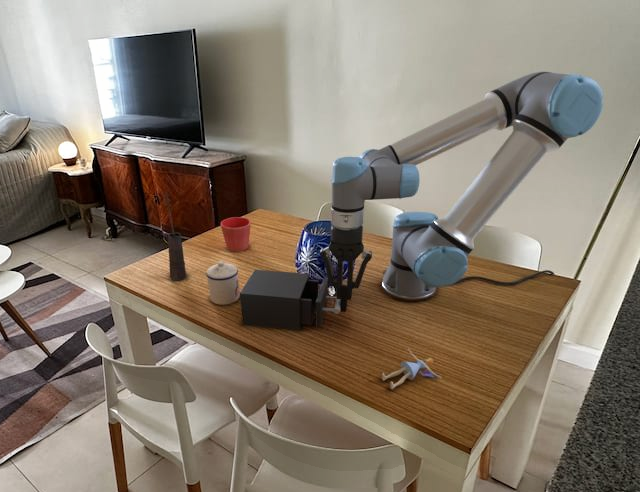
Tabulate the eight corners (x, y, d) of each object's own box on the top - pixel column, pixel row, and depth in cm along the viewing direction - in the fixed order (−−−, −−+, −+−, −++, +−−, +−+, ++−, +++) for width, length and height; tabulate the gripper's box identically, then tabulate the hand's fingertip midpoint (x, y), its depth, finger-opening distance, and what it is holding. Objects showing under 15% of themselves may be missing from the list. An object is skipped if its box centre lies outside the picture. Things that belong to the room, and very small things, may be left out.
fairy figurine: (371, 357, 100) (415, 338, 104) (372, 373, 103) (415, 354, 106) (403, 389, 91) (451, 367, 94) (403, 406, 93) (450, 384, 97)
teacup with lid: (243, 302, 130) (240, 266, 125) (212, 308, 128) (207, 271, 123) (234, 283, 140) (231, 249, 135) (205, 288, 138) (200, 254, 133)
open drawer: (343, 305, 125) (344, 280, 121) (337, 330, 115) (338, 304, 111) (277, 299, 129) (276, 275, 126) (266, 322, 119) (264, 297, 115)
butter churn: (194, 283, 142) (181, 197, 128) (163, 286, 141) (147, 199, 127) (195, 270, 150) (182, 187, 136) (165, 273, 149) (150, 190, 135)
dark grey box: (309, 303, 128) (309, 273, 124) (299, 330, 117) (299, 298, 112) (256, 298, 132) (254, 269, 127) (242, 324, 120) (239, 293, 116)
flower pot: (258, 244, 166) (256, 219, 161) (240, 255, 158) (238, 229, 153) (235, 239, 171) (233, 214, 167) (217, 250, 163) (214, 224, 159)
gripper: (317, 229, 105) (316, 314, 117) (374, 232, 102) (367, 319, 114) (322, 217, 112) (321, 299, 123) (375, 220, 109) (369, 304, 120)
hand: (343, 309), depth 118 cm, fingers closed
